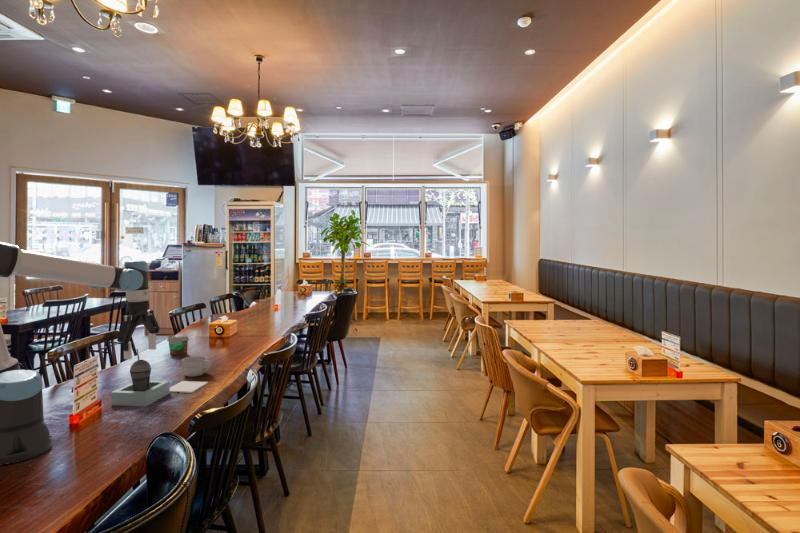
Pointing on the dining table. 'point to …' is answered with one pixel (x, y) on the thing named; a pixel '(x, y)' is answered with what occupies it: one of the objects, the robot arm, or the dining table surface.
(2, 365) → the robot arm
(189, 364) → the teacup
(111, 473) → the dining table surface
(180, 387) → the grey mat
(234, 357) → the dining table surface
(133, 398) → the grey square tray
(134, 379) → the beverage cup
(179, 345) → the food container
